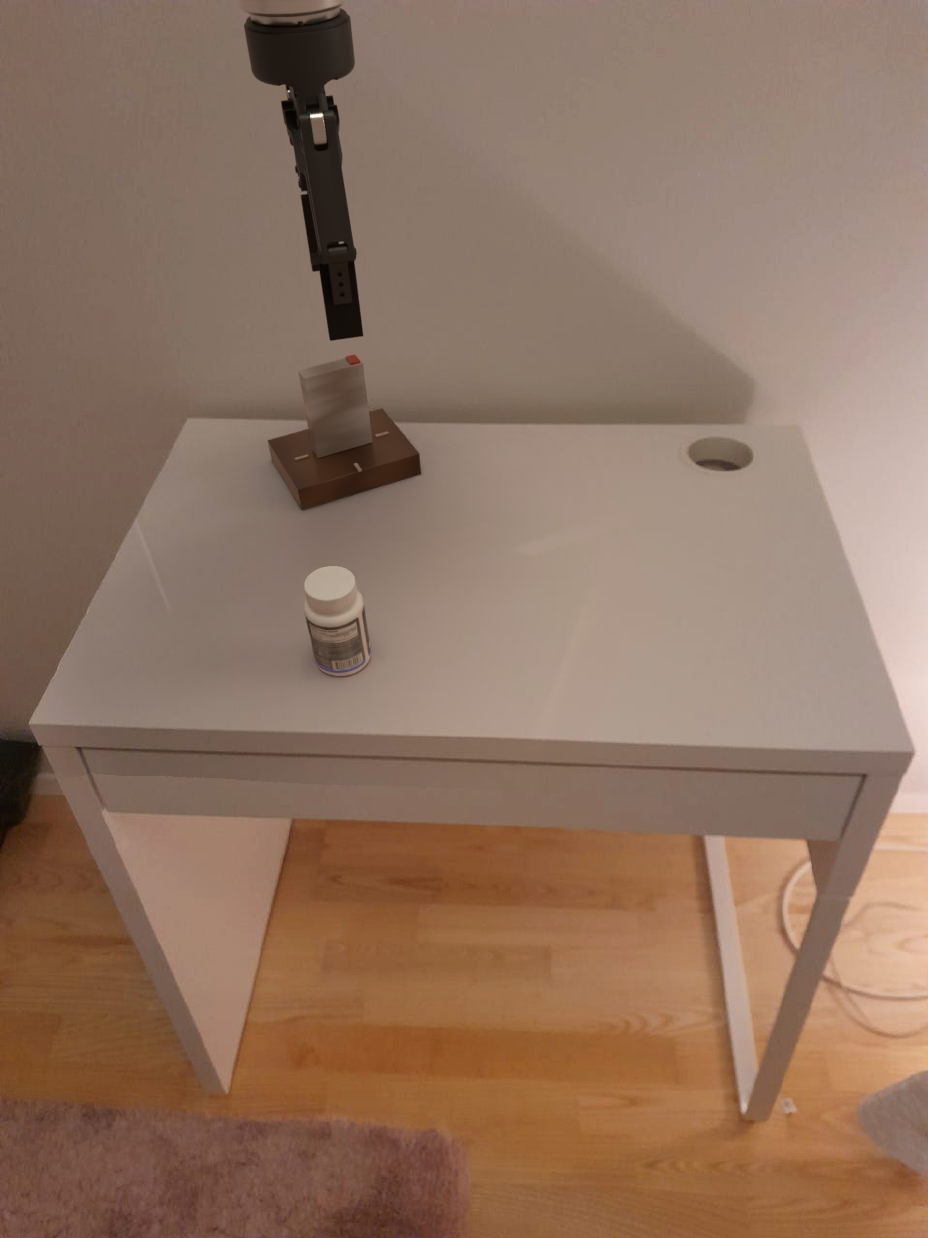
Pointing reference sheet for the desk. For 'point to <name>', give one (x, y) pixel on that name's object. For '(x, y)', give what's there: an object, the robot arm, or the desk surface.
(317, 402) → the red-topped gray slab
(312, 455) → the panel
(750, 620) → the desk surface
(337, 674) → the pill bottle
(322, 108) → the robot arm
